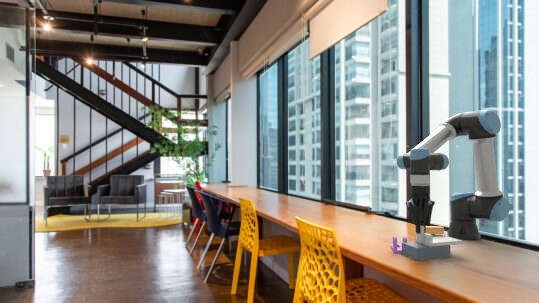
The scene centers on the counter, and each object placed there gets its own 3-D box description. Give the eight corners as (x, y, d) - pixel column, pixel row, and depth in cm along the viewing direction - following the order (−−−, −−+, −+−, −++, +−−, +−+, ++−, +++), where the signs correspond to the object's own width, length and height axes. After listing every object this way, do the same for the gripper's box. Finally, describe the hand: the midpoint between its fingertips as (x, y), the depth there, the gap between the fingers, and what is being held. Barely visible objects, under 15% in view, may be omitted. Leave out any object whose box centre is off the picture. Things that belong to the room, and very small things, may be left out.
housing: (433, 247, 163) (433, 236, 163) (462, 256, 146) (462, 244, 146) (392, 250, 157) (391, 238, 157) (417, 260, 141) (417, 248, 141)
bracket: (407, 254, 151) (407, 237, 151) (393, 253, 152) (393, 237, 152) (402, 246, 164) (402, 231, 164) (390, 246, 165) (389, 231, 165)
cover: (446, 239, 156) (446, 229, 156) (462, 244, 147) (462, 233, 147) (415, 241, 152) (415, 231, 152) (429, 246, 143) (429, 235, 143)
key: (421, 246, 161) (421, 226, 161) (447, 247, 159) (446, 226, 159) (423, 247, 158) (422, 227, 159) (449, 248, 157) (448, 227, 157)
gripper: (427, 184, 153) (427, 238, 152) (401, 184, 150) (401, 240, 149) (439, 185, 146) (440, 242, 145) (412, 185, 142) (413, 244, 142)
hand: (420, 241), depth 147 cm, fingers closed
